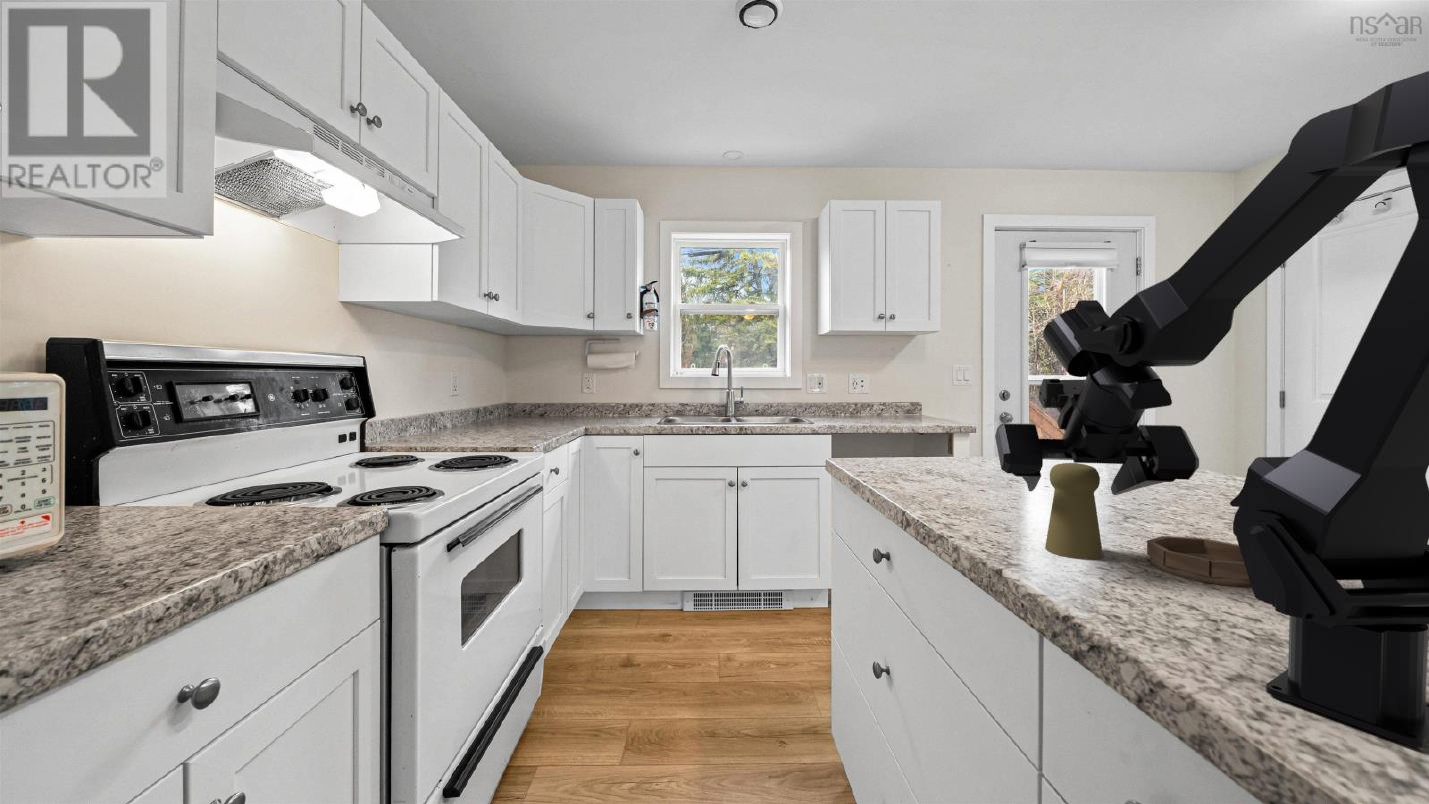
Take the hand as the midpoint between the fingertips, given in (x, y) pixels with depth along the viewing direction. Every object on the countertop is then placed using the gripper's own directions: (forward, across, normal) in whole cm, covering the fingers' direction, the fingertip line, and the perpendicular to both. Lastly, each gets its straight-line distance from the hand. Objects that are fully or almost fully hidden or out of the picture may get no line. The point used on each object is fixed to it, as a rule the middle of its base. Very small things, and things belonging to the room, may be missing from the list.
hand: (1070, 489), depth 67 cm
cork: (+5, 0, +6) cm, 8 cm away
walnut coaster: (+2, -12, +9) cm, 15 cm away
